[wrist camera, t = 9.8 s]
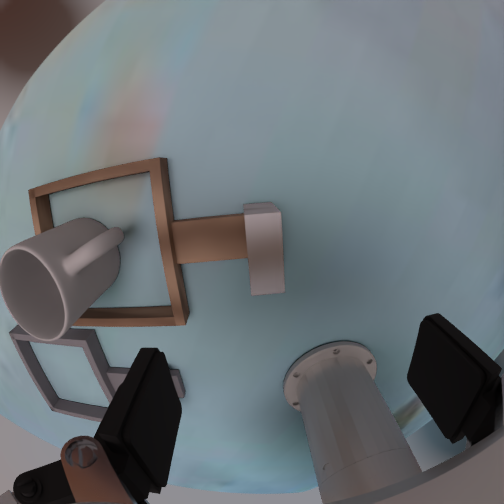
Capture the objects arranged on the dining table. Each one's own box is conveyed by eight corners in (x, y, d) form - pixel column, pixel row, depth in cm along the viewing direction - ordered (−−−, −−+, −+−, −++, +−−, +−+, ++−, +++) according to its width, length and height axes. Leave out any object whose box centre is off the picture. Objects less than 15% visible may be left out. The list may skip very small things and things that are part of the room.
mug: (84, 301, 28) (35, 352, 18) (49, 240, 26) (-14, 272, 15) (161, 257, 27) (119, 308, 16) (120, 184, 25) (55, 196, 14)
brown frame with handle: (283, 305, 29) (295, 345, 22) (71, 315, 28) (42, 346, 22) (274, 147, 24) (286, 138, 17) (41, 187, 24) (0, 196, 17)
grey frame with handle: (194, 418, 34) (189, 457, 27) (57, 401, 33) (41, 428, 27) (167, 329, 29) (150, 370, 22) (17, 324, 29) (-9, 348, 22)
